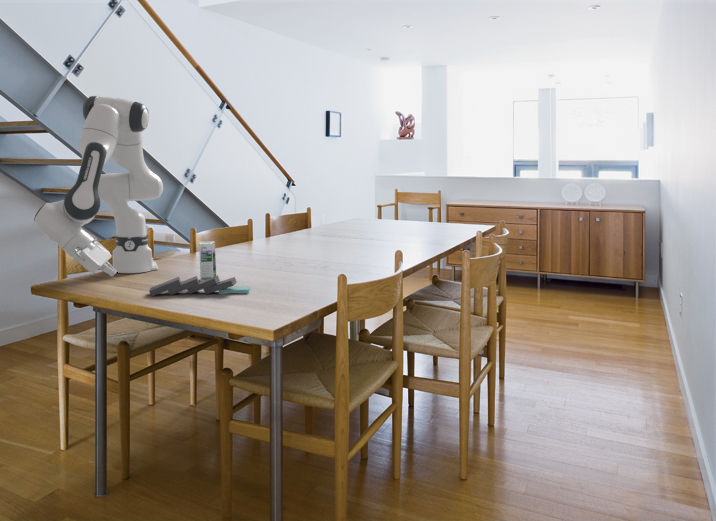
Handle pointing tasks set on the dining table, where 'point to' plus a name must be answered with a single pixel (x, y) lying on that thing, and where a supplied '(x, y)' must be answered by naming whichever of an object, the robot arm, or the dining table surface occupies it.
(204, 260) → the syrup box
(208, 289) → the domino
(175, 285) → the domino
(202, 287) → the domino
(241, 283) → the dining table surface
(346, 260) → the dining table surface
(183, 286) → the domino
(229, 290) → the domino
